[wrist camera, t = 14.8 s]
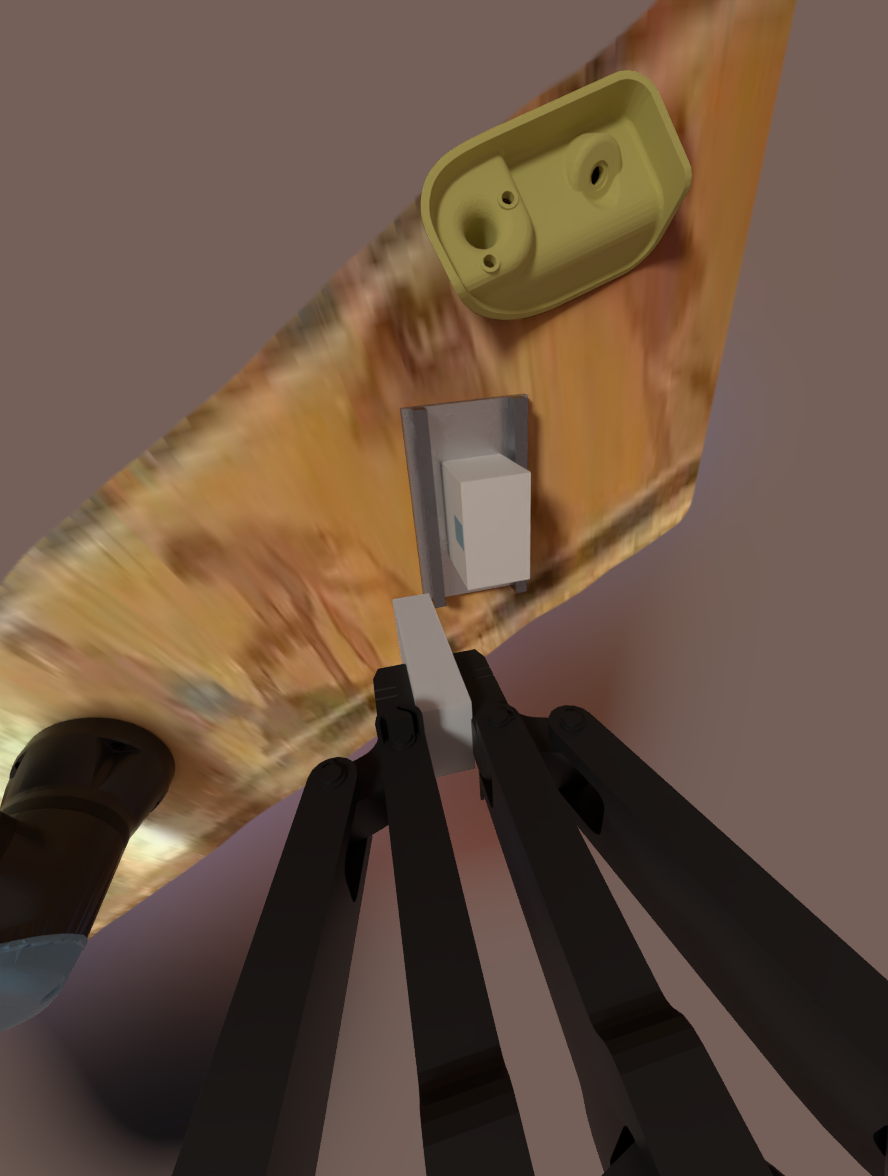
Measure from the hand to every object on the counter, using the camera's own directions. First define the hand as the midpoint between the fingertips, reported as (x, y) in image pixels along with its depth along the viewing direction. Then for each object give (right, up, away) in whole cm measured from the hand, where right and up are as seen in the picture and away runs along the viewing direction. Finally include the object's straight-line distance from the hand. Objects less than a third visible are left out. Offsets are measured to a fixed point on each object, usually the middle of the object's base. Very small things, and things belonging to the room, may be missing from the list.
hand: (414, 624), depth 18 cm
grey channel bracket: (+4, +10, +28) cm, 30 cm away
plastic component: (+8, +32, +18) cm, 38 cm away
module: (+4, +10, +27) cm, 29 cm away
